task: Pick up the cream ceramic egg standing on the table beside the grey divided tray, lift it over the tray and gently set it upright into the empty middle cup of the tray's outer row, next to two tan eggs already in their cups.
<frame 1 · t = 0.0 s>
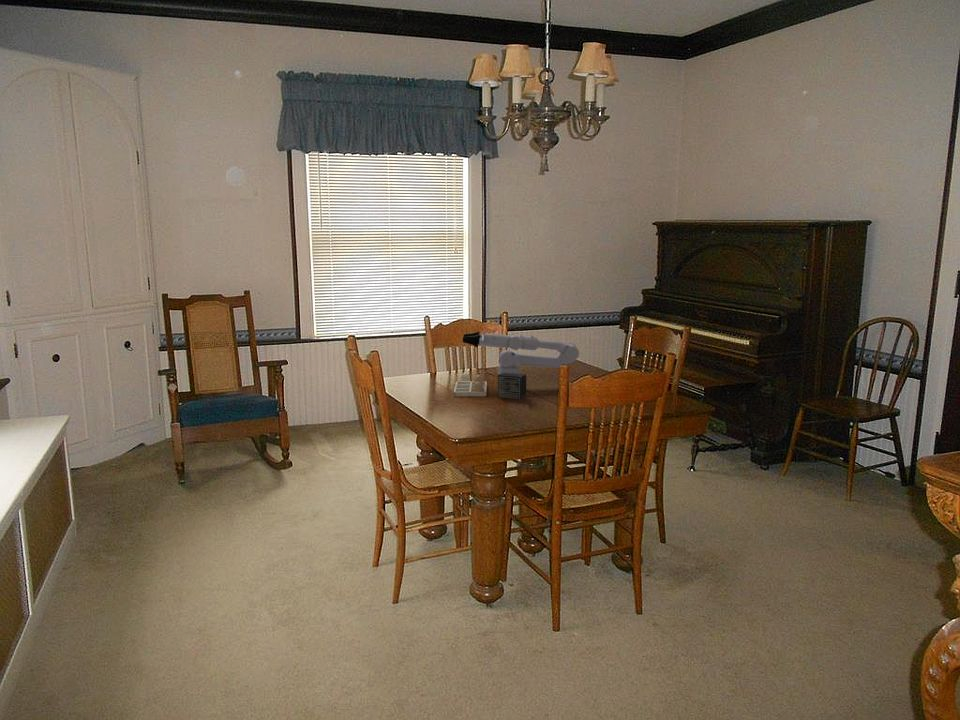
hand: (463, 338, 315), 22 cm above the table, tool horizontal, fingers open, 7 cm apart
small box: (512, 399, 296), on the table
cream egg: (465, 384, 323), on the table
tan egg left: (478, 387, 313), point 1 cm above the table, touching grey divided tray
grey divided tray: (470, 392, 307), on the table
tan egg right: (477, 394, 300), point 1 cm above the table, touching grey divided tray
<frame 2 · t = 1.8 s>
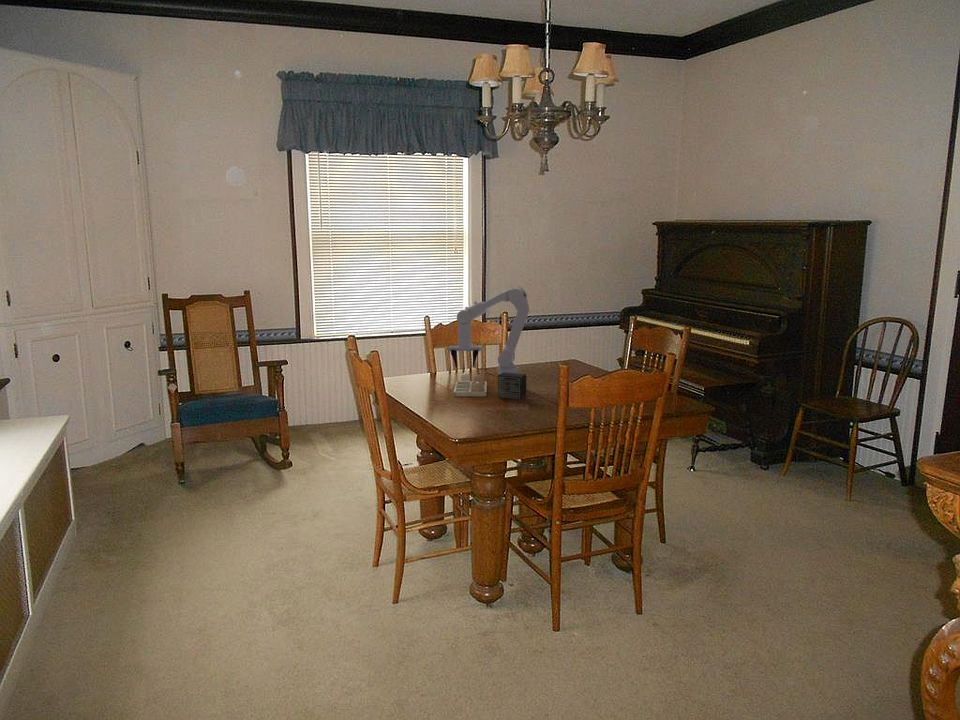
hand: (464, 366, 321), 8 cm above the table, tool pointing down, fingers open, 7 cm apart
nothing on the table moved.
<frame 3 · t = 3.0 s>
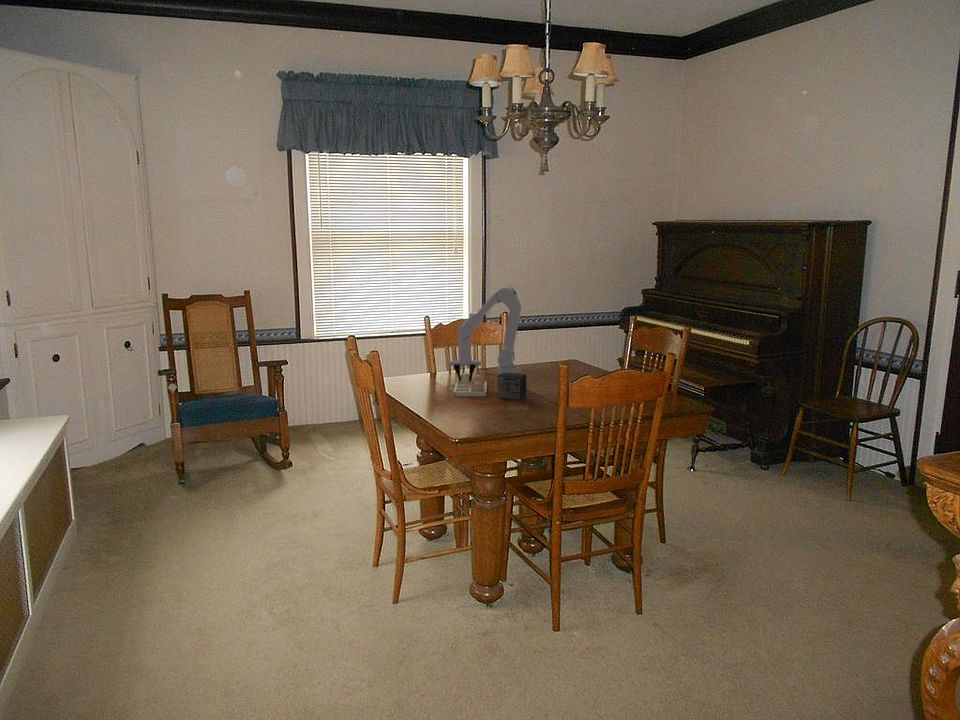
hand: (465, 381, 322), 1 cm above the table, tool pointing down, fingers closed on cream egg, 4 cm apart
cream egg: (465, 384, 323), on the table, touching gripper
everything else where it was.
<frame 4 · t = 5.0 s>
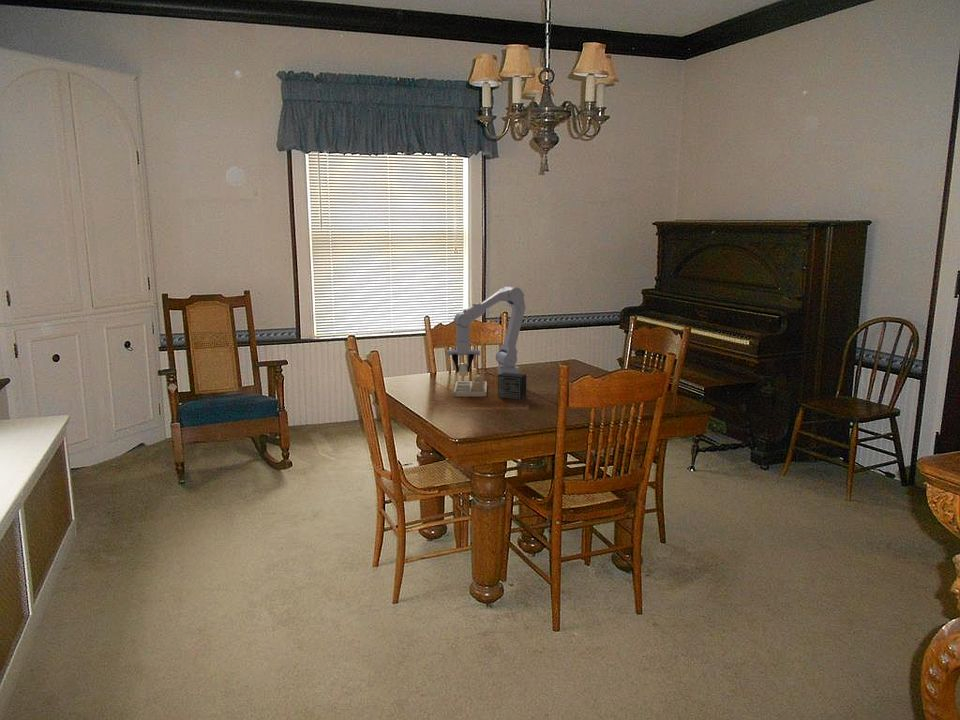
hand: (463, 371, 309), 8 cm above the table, tool pointing down, fingers closed on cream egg, 4 cm apart
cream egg: (463, 374, 309), point 7 cm above the table, touching gripper
everything else where it was.
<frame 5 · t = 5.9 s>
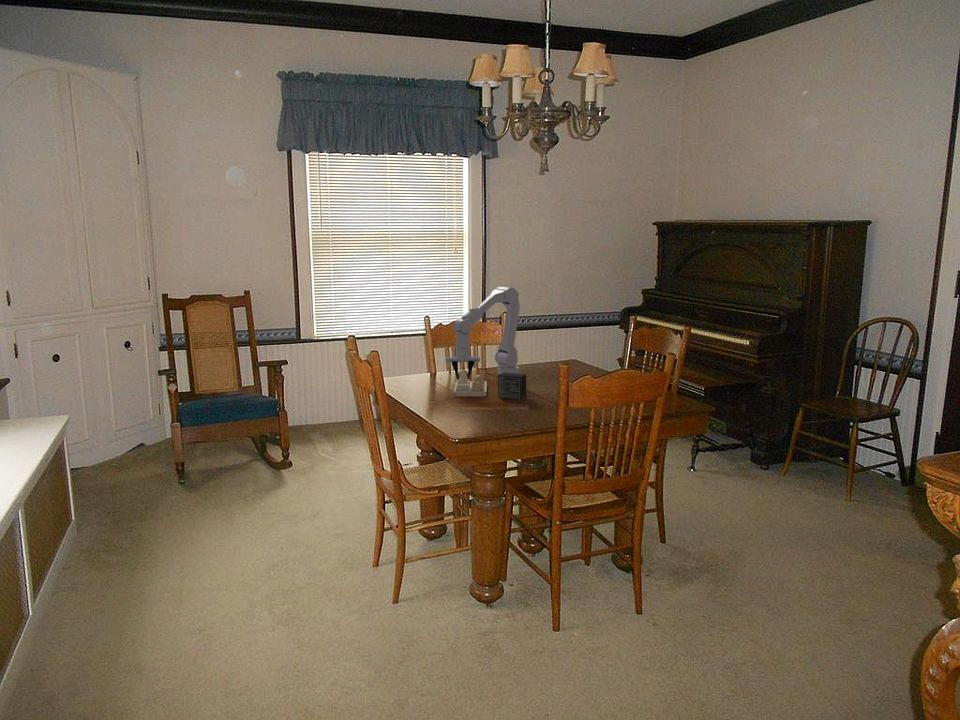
hand: (463, 378, 306), 6 cm above the table, tool pointing down, fingers closed on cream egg, 4 cm apart
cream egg: (463, 381, 306), point 5 cm above the table, touching gripper
everything else where it was.
when the fingers open (4 cm above the table, at t = 6.9 s): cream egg drops 1 cm, resting on grey divided tray.
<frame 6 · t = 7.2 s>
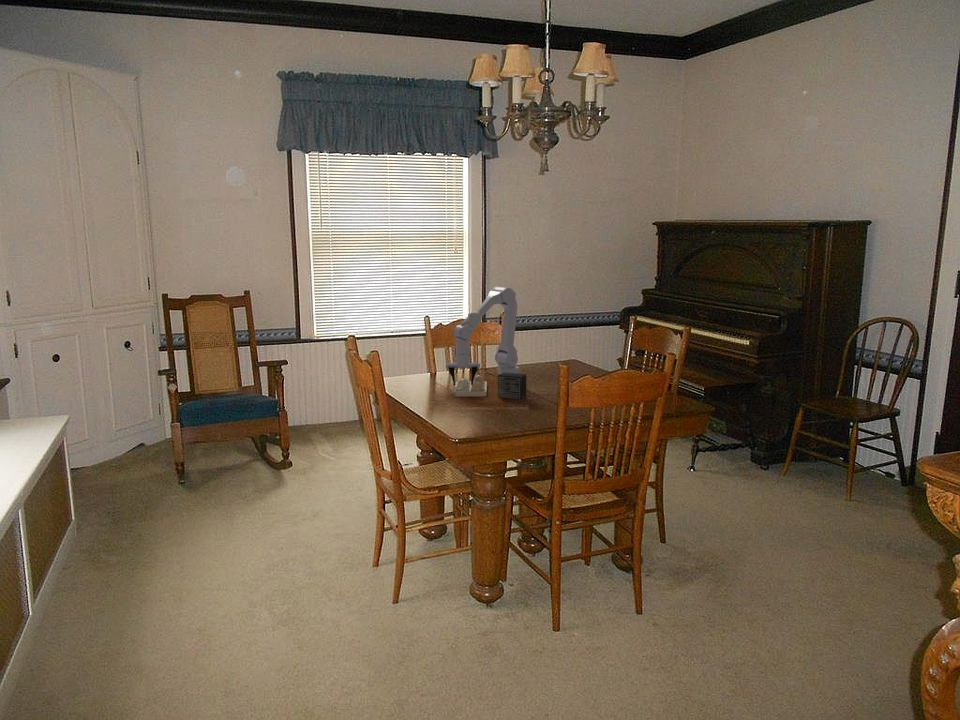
hand: (463, 384, 306), 4 cm above the table, tool pointing down, fingers open, 7 cm apart
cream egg: (463, 390, 307), point 1 cm above the table, touching grey divided tray
everything else where it was.
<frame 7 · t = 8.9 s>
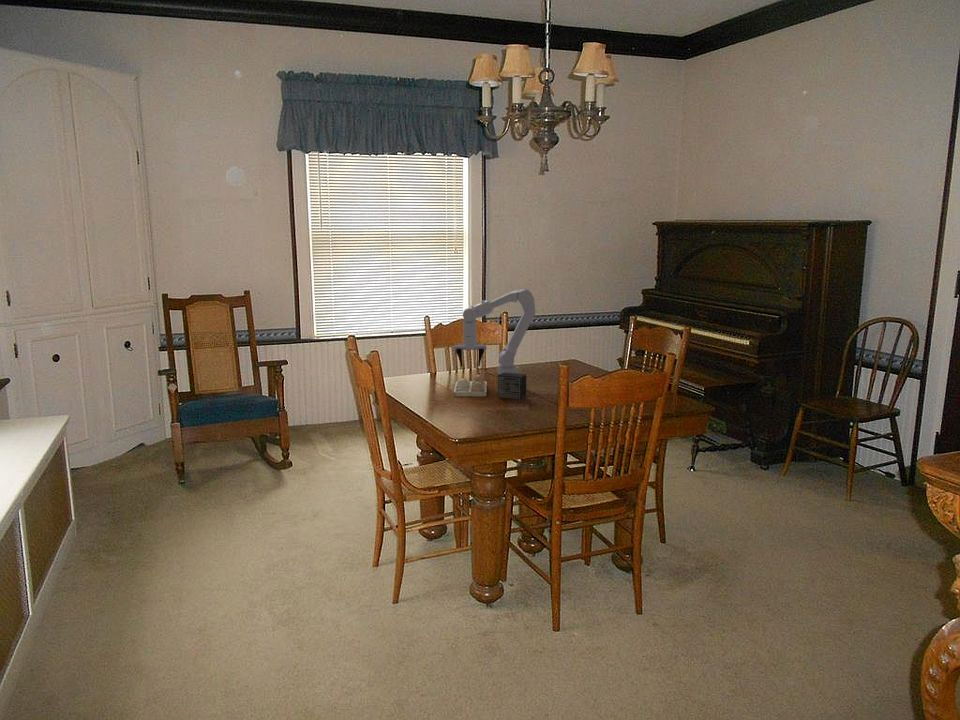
hand: (470, 365, 316), 9 cm above the table, tool pointing down, fingers open, 7 cm apart
nothing on the table moved.
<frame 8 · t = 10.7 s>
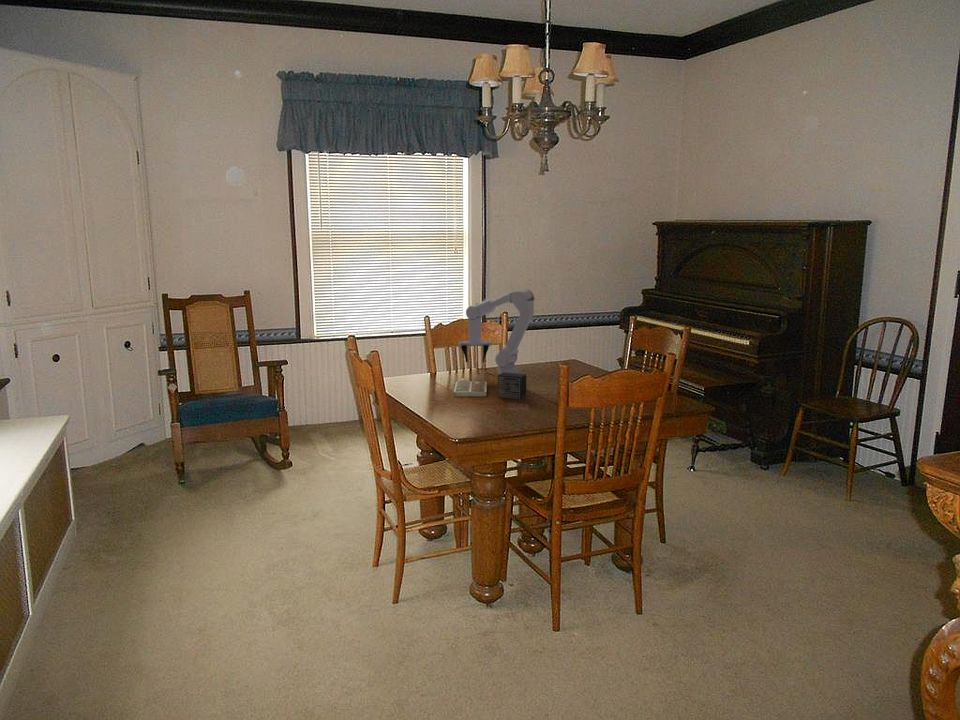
hand: (475, 361, 325), 9 cm above the table, tool pointing down, fingers open, 7 cm apart
nothing on the table moved.
at the end: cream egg 0.1 cm from the target spot on the grey divided tray, point 1.0 cm above the grey divided tray's base; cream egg tilted 0°; the gripper is holding nothing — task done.
